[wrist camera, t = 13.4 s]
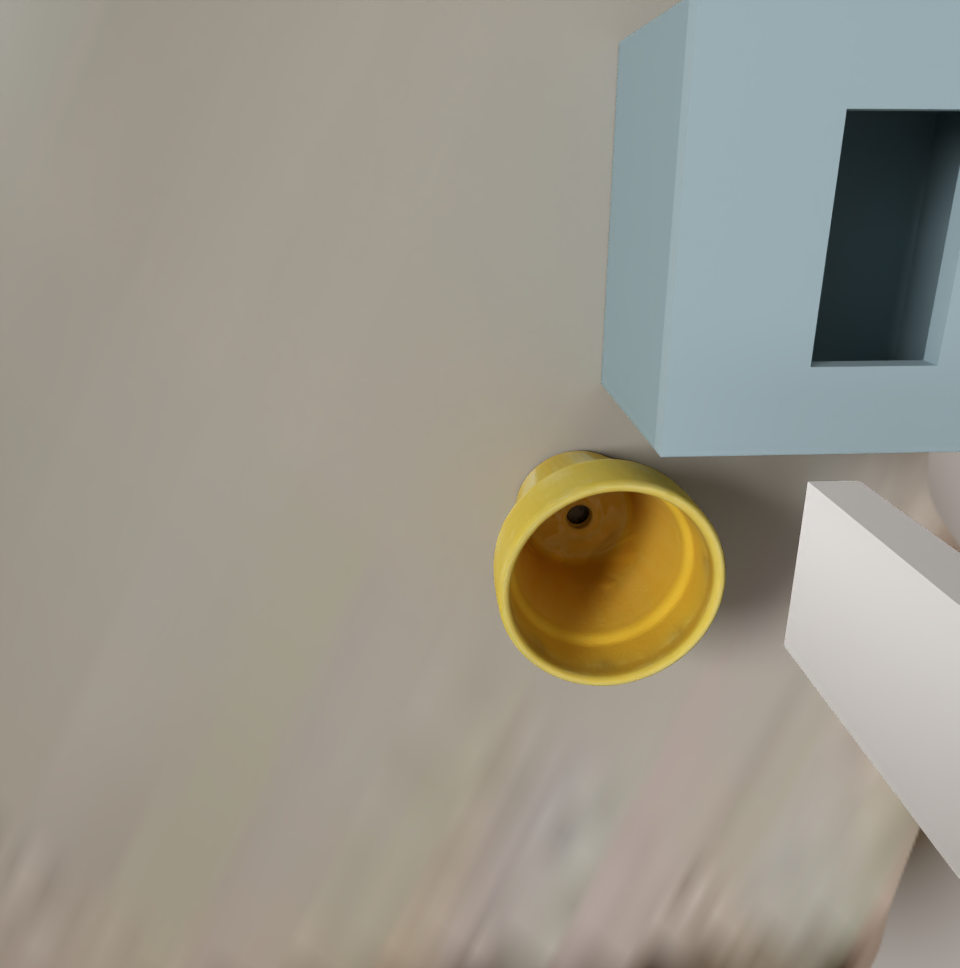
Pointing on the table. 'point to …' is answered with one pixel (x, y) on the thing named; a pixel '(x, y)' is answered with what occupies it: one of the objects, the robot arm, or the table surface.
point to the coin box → (787, 228)
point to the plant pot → (606, 570)
